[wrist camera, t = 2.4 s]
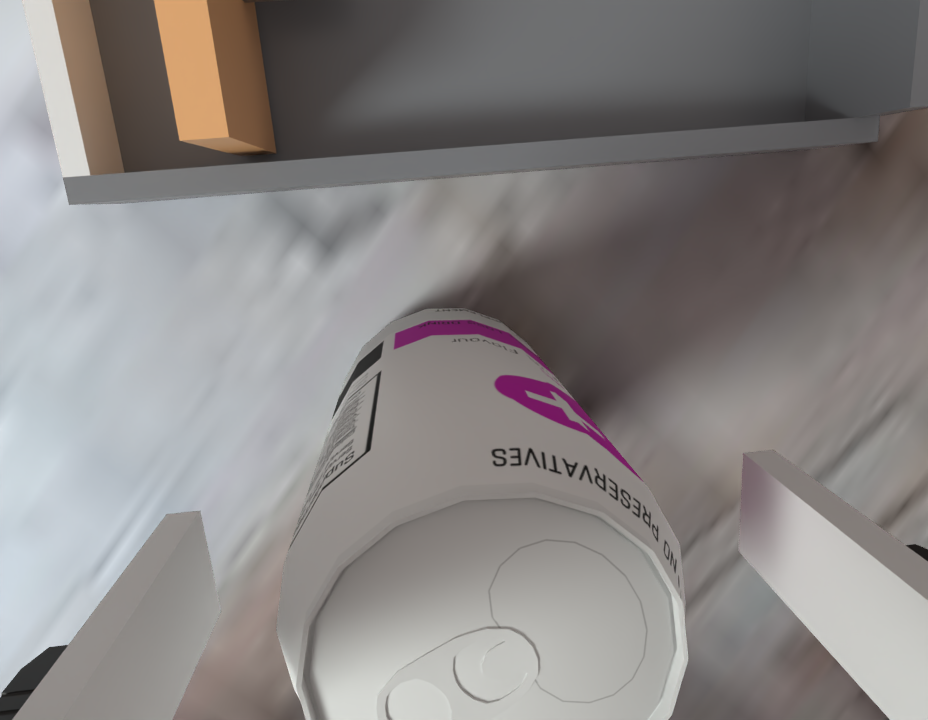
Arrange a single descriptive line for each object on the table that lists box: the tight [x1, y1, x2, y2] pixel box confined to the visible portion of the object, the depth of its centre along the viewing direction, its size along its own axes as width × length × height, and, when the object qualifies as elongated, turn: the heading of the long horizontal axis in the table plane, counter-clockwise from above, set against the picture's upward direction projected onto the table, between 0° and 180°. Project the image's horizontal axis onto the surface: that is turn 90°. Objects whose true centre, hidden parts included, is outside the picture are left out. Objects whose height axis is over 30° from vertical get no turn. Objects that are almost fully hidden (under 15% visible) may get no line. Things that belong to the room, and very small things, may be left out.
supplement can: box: [276, 308, 688, 720], centre depth 18 cm, size 8×8×15 cm
